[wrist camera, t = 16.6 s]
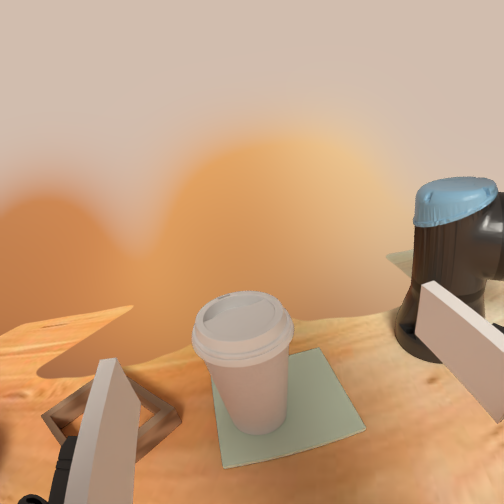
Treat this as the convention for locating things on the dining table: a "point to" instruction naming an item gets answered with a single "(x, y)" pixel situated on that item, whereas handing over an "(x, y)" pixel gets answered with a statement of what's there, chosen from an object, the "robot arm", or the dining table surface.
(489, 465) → the dining table surface
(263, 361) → the coffee cup
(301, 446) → the mat
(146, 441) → the square tray
